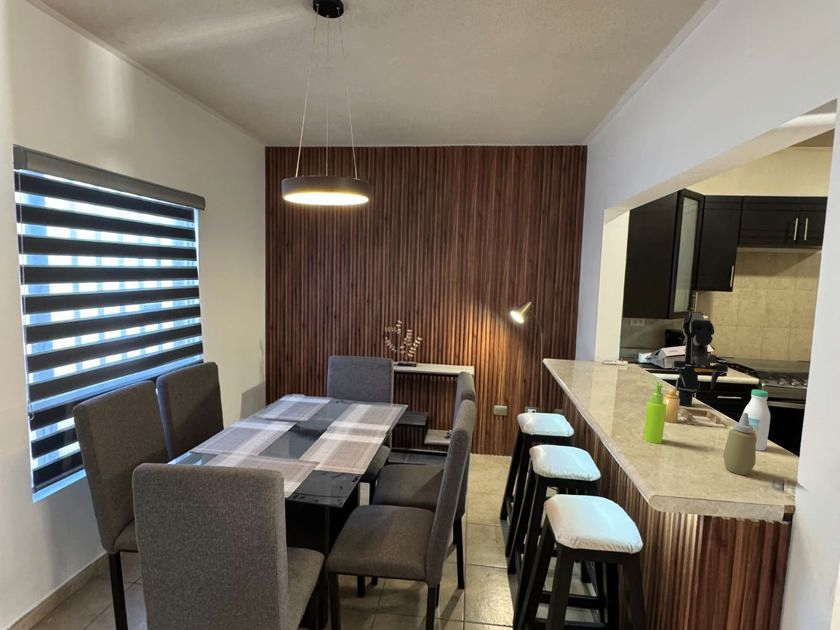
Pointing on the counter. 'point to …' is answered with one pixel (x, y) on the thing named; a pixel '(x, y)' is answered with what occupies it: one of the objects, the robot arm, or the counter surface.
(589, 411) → the counter surface
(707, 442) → the counter surface
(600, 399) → the counter surface
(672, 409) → the amber bottle
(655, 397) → the soap dispenser
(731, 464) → the squeeze bottle
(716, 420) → the u rest
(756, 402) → the milk bottle
